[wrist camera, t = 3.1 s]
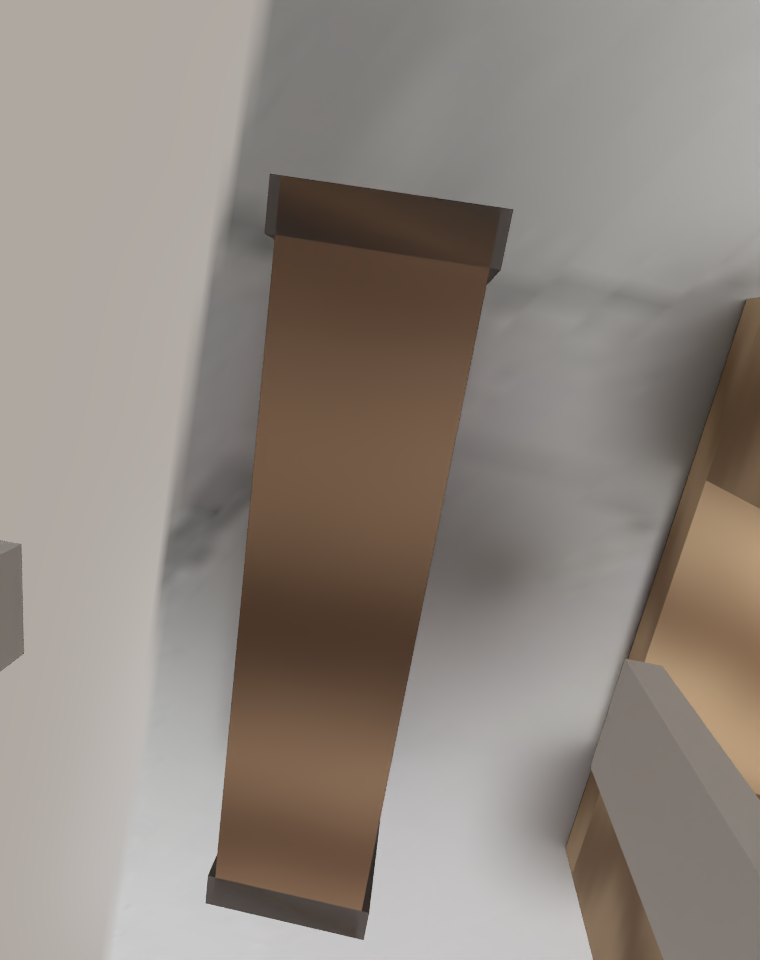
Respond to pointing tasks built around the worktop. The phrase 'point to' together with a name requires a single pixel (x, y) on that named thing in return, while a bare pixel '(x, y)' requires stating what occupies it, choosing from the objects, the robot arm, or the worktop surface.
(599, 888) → the wooden notched cradle stand
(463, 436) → the worktop surface
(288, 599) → the rail
